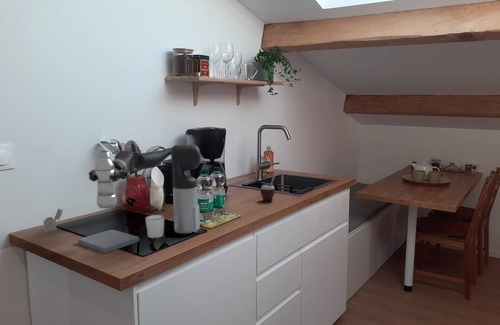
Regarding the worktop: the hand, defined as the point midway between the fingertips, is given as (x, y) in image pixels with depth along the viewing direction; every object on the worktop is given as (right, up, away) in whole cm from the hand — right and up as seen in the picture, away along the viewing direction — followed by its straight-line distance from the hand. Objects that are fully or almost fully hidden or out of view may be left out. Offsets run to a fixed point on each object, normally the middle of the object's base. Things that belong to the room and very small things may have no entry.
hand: (103, 178), depth 138 cm
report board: (0, -23, +6) cm, 24 cm away
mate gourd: (+60, -14, +65) cm, 90 cm away
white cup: (+15, -22, +13) cm, 30 cm away
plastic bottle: (0, -11, +4) cm, 12 cm away
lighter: (-27, -21, +21) cm, 40 cm away
